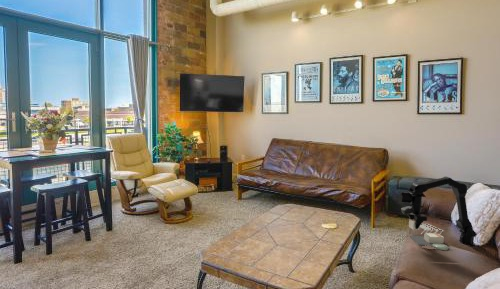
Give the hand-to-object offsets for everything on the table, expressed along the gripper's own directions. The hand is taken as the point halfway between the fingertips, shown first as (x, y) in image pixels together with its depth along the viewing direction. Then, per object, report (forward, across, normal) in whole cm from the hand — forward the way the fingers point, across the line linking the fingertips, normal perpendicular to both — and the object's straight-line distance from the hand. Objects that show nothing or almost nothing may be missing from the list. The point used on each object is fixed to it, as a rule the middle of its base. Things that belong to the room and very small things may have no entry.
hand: (414, 227), depth 203 cm
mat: (+9, +2, +9) cm, 13 cm away
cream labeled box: (+9, 0, +13) cm, 15 cm away
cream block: (+1, 0, 0) cm, 1 cm away
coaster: (+9, +9, +12) cm, 17 cm away
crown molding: (+10, -22, +21) cm, 32 cm away
